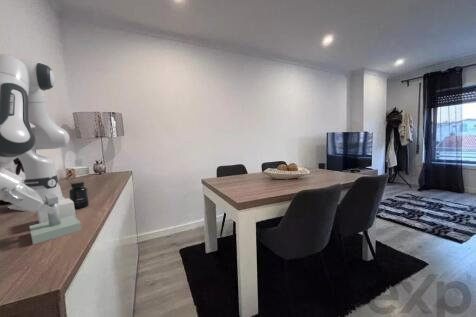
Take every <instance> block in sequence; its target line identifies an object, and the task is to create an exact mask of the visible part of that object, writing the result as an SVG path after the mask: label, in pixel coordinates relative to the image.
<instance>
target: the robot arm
mask: <svg viewBox="0 0 476 317" xmlns="http://www.w3.org/2000/svg"><path fill="white" fill-rule="evenodd" d="M55 83H56V76H55V74H54V72H53V69H52V68H51V67H50V66H49V65H46V64H43V63H41V62H33V61H30V60H25V59H20V58H17V57H16V56H13V55H9V54H5V53H4V54H3V53H0V201H1V200H2V201H4V202H6V203H7V202H8V203H10V204H11V205H9V206H7V209H8V208H9V210H15V211H21V212H22V211H23V212H24V211H28V212H31V213H36V212H37V210H39V211H42V212H46V213H49V214H53V213H54V212H55V211H56V210H55V208H52V207H50V206H48V205H46V199H45V195H49V194H55V195H56V196H57V197H58V200H62V199H66V197H64V196H63V193H62V189H61V186H60V184H59V183H58V182H59V177H58V175H57V173H56V172H57V171H56V166H55V165H56V164H55V161H54V160H53V159H52V158H49V157H47V156H44V155H40V154H38V153H36V151H39V150H54V149H61V148H64V147H67V146H68V145H69V142H70V139H71V137H70V134H69V133H68V131H66V129H64V128H62V127H61V126H59V125H57V124H56V123H55V122H54V121H53V120H52V119H51V117H50V115H49V113H48V108H47V102H46V97H45V93H44V91H46V90H49V91H50V90H51V89H52V88H54V85H55ZM30 124H32V125H33V127H31V126H30ZM16 159H18V160H19V161H20V163H21V165H22V169H23V171H24V176H25V178H24V179H23V177H21V176H19V175H18V174H16V173H14V172H12V171H9V169H6V168H4V167H5V166H6V165H8V164H10V163H11V162H13V161H14V160H16ZM3 166H4V167H3Z"/></svg>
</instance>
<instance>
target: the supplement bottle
mask: <svg viewBox="0 0 476 317" xmlns="http://www.w3.org/2000/svg"><path fill="white" fill-rule="evenodd" d="M70 187H71V188H70V189H69V190H68V195H69V199H70V200H72V201H73V202H74V208H75V210H80V209H84V208H87V207H88V206H89V205H90V203H89V192H88V188H87V187H86V186H85V182H84V181H75V182H71V183H70Z"/></svg>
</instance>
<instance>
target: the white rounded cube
mask: <svg viewBox="0 0 476 317" xmlns="http://www.w3.org/2000/svg"><path fill="white" fill-rule="evenodd" d="M58 206H59V213H60V218H64V217H68V216H72V215H74V216H75V217H76V209H75V208H74V202H73V201H72V200H70V197H69V198H68V197H67V198H65V199H62V200H58ZM36 212H37V218H38V224H40V223H44V222H48V221H49V220H48V213H46V212H42V211H39V210H37V211H36ZM76 218H77V217H76Z"/></svg>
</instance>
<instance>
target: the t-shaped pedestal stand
mask: <svg viewBox="0 0 476 317" xmlns="http://www.w3.org/2000/svg"><path fill="white" fill-rule="evenodd" d="M45 199H46V205H48V206H50V207H52V208H55V210H56V211H55V212H54V213H53V214H49V213H48V220H49V221H48V222H44V223H36V224H32V225H29V233H30V237H31V241H32V245H36V244H40V243H43V242H46V241H50V240H53V239H56V238H60V237H63V236H67V235H69V234H73V233H77V232H81V231H82V230H83V229H82V222H81V221H80V220H79V219H78V217H75V216H74V215H72V216H68V217H64V218H60V213H59V206H58V197H57V196H56V195H55V194H49V195H45Z"/></svg>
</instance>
